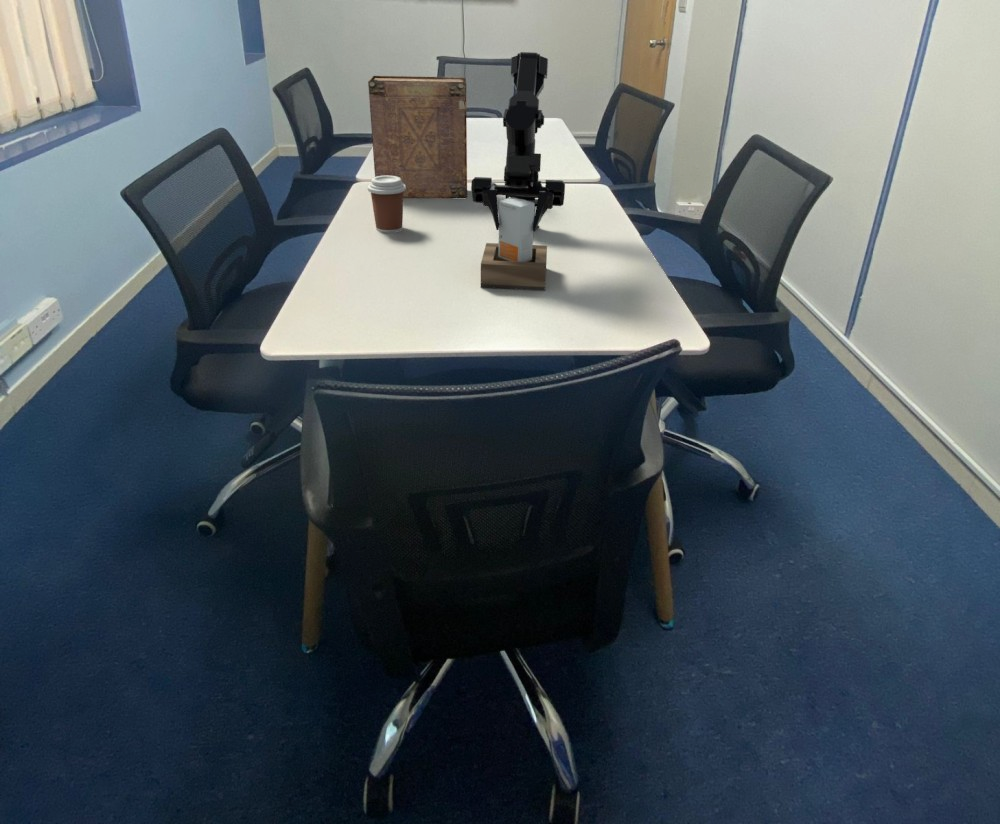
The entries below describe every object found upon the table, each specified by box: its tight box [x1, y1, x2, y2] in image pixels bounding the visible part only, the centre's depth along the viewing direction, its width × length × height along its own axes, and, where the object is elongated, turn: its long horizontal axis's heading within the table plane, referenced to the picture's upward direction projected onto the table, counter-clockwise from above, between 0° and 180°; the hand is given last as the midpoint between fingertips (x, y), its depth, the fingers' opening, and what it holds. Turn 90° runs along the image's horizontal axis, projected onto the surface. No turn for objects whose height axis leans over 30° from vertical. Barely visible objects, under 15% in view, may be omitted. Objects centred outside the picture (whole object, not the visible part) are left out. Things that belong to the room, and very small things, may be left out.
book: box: [367, 75, 468, 199], centre depth 197 cm, size 25×9×30 cm, turn 93°
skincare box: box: [498, 197, 535, 262], centre depth 146 cm, size 6×4×12 cm
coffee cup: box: [367, 175, 406, 234], centre depth 174 cm, size 9×9×12 cm
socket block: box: [480, 242, 548, 292], centre depth 149 cm, size 13×13×5 cm
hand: (515, 229), depth 144 cm, fingers closed on skincare box, 7 cm apart
